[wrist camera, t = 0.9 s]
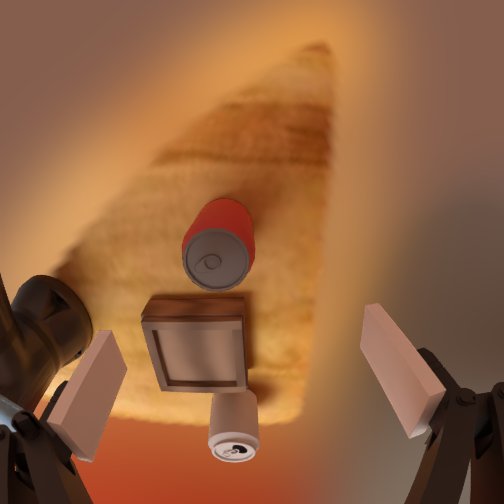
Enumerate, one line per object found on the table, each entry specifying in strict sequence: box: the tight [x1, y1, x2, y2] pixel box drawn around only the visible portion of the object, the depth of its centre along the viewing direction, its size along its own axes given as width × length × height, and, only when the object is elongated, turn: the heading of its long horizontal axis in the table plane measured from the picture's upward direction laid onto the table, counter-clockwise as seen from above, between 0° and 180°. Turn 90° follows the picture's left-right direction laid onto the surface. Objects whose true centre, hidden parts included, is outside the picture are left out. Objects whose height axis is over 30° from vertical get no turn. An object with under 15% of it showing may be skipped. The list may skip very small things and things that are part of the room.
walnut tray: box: [141, 297, 248, 393], centre depth 38 cm, size 13×13×5 cm
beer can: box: [182, 199, 255, 292], centre depth 29 cm, size 7×7×12 cm
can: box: [208, 389, 260, 462], centre depth 39 cm, size 8×8×12 cm
